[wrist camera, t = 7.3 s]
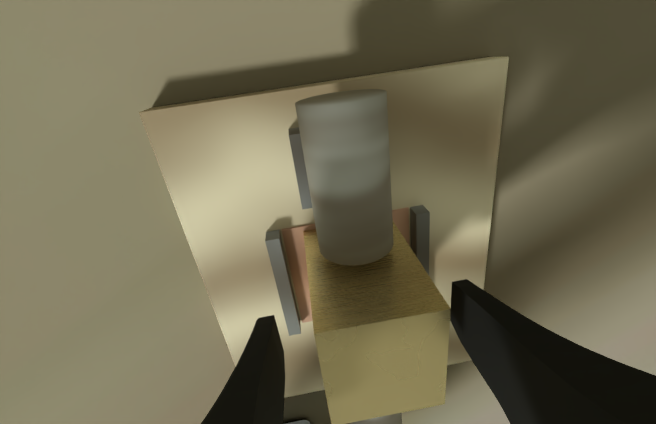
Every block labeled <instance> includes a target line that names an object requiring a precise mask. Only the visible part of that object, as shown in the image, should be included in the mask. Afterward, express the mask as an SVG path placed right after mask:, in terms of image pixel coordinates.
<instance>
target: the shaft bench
mask: <svg viewBox="0 0 656 424" xmlns="http://www.w3.org/2000/svg"><path fill="white" fill-rule="evenodd" d="M508 62H509V57H486V58H479V59H473V60H466V61H459V62H453V63H446V64H440V65H433V66H426V67H420V68H413V69H406V70H400V71H393V72H386V73H380V74H373V75H366V76H360V77H353V78H346V79H340V80H333V81H326V82H320V83H313V84H306V85H300V86H293V87H286V88H280V89H273V90H267V91H260V92H253V93H247V94H240V95H233V96H227V97H220V98H213V99H207V100H200V101H193V102H187V103H180V104H173V105H167V106H160V107H153V108H149V109H147V110H144V111H142V112H139V114H140V117H141V119H142V122H143V125H144V127H145V130H146V133H147V135H148V138H149V141H150V143H151V146H152V148H153V151H154V154H155V156H156V159H157V162H158V164H159V167H160V169H161V172H162V175H163V177H164V180H165V183H166V185H167V188H168V190H169V193H170V196H171V198H172V201H173V204H174V206H175V209H176V211H177V214H178V217H179V219H180V222H181V225H182V227H183V230H184V233H185V235H186V238H187V240H188V243H189V246H190V248H191V251H192V254H193V256H194V259H195V261H196V264H197V267H198V269H199V272H200V275H201V277H202V280H203V282H204V285H205V288H206V290H207V293H208V296H209V298H210V301H211V303H212V306H213V309H214V311H215V314H216V317H217V319H218V322H219V325H220V327H221V330H222V332H223V335H224V338H225V340H226V343H227V346H228V348H229V351H230V353H231V356H232V359H233V361H234V364H235V367H236V365H237V363H238V361H239V359H240V357H241V355H242V353H243V351H244V349H245V347H246V344H247V342H248V340H249V338H250V335H251V333H252V331H253V328H254V326H255V323H256V320H257V319H258V318H261V317H266V316H271V315H274V317H275V320H276V324H277V328H278V331H279V335H280V339H281V342H282V346H283V350H284V360H285V394H284V398H286V397H291V396H296V395H301V394H306V393H311V392H316V391H321V390H325V388H324V383H323V378H322V373H321V368H320V362H319V357H318V352H317V347H316V342H315V337H314V329H313V320H312V310H311V301H310V291H309V282H308V272H307V262H306V253H305V243H304V234H303V231H307V230H313V229H316V232H317V238H318V244H319V250H320V253H321V254H322V255H323V257H325V258H326V259H327V260H329V261H331V262H333V263H337V264H341V265H363V264H368V263H372V262H375V261H377V260H379V259H381V258H383V257H384V256H386V255H387V254H388V253H389V252H390V251H391V249H392V247H393V242H394V241H393V222H394V223H395V225H396V226H397V228H398V229H399V231H400V232H401V234H402V235H403V237H404V238H405V240H406V241H407V243H408V245H409V246H410V248H411V249H412V251H413V252H414V254H415V255H416V257H417V258H418V260H419V261H420V263H421V264H422V266H423V267H424V269H425V270H426V272H427V273H428V275H429V276H430V278H431V280H432V281H433V283H434V284H435V286H436V287H437V289H438V290H439V292H440V293H441V295H442V296H443V298H444V299H445V301H446V302H447V304H448V305H449V307H450V308H451V290H452V282H454V281H459V280H465V279H467V280H469V281H470V282H472V283H473V284H475V285H476V286H478V287H479V288H481V289H483V290H484V281H485V272H486V263H487V254H488V244H489V235H490V226H491V217H492V208H493V199H494V190H495V180H496V171H497V162H498V153H499V144H500V135H501V126H502V116H503V107H504V98H505V89H506V80H507V71H508ZM467 361H472V359H471V358H470V356H469V355H468V353H467V352H466V350H465V348H464V347H463V345H462V344H461V342H460V340H459V338H458V336H457V334H456V332H455V329H454V327H453V325H452V323H451V321H450V329H449V345H448V360H447V365H452V364H457V363H462V362H467ZM349 424H402V416H401V413H397V414H392V415H387V416H382V417H377V418H372V419H367V420H362V421H357V422H352V423H349Z"/></svg>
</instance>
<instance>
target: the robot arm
mask: <svg viewBox="0 0 656 424" xmlns="http://www.w3.org/2000/svg"><path fill="white" fill-rule="evenodd" d="M450 321H451V323H452V325H453V327H454V329H455V332H456V334H457V336H458V338H459V340H460V342H461V344H462V345H463V347H464V348H465V350H466V352H467V353H468V355H469V356H470V358H471V359H472V361H473V363H474V364H475V366H476V367H477V369H478V370H479V372H480V373H481V375H482V376H483V378H484V380H485V381H486V383H487V384H488V386H489V387H490V389H491V390H492V392H493V393H494V395H495V397H496V398H497V400H498V402H499V403H500V405H501V407H502V408H503V410H504V412H505V414H506V416H507V418H508V420H509V422H510V424H656V376H655V375H652V374H649V373H647V372H644V371H641V370H638V369H636V368H633V367H630V366H628V365H625V364H622V363H620V362H617V361H615V360H612V359H610V358H607V357H605V356H603V355H600V354H598V353H596V352H593V351H591V350H589V349H587V348H584V347H582V346H580V345H578V344H576V343H574V342H572V341H570V340H568V339H566V338H563V337H561V336H559V335H557V334H555V333H554V332H552V331H550V330H548V329H546V328H544V327H542V326H541V325H539V324H537V323H535V322H534V321H532V320H530V319H528V318H527V317H525V316H523V315H522V314H520V313H518V312H517V311H515V310H513V309H512V308H510V307H509V306H507V305H505V304H504V303H502V302H501V301H499V300H498V299H496V298H495V297H493V296H492V295H490V294H489V293H487V292H486V291H484V290H483V289H481V288H479V287H478V286H476V285H475V284H473V283H472V282H470V281H469V280H467V279H465V280H459V281H454V282H452V290H451V314H450ZM284 394H285V360H284V350H283V346H282V342H281V339H280V335H279V331H278V328H277V324H276V320H275V317H274V315H271V316H266V317H261V318H258V319H257V320H256V323H255V326H254V328H253V331H252V333H251V335H250V338H249V340H248V342H247V344H246V347H245V349H244V351H243V353H242V355H241V357H240V359H239V361H238V363H237V365H236V367H235V369H234V371H233V373H232V374H231V376H230V378H229V380H228V382H227V383H226V385H225V387H224V389H223V390H222V392H221V394H220V395H219V397H218V399H217V400H216V402H215V404H214V405H213V407H212V408H211V410H210V411H209V413H208V414H207V416H206V417H205V419H204V420H203V421H202V423H201V424H283V411H284ZM285 424H310V422H309V421H307V420H300V421H295V422H290V423H285Z"/></svg>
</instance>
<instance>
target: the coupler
mask: <svg viewBox="0 0 656 424" xmlns="http://www.w3.org/2000/svg"><path fill="white" fill-rule="evenodd" d="M303 234H304V243H305V253H306V262H307V272H308V282H309V291H310V301H311V310H312V320H313V329H314V337H315V342H316V347H317V352H318V357H319V362H320V368H321V373H322V378H323V383H324V388H325V393H326V399H327V404H328V409H329V414H330V419H331V424H347V423H352V422H357V421H362V420H367V419H372V418H377V417H382V416H387V415H392V414H397V413H402V412H407V411H412V410H417V409H422V408H427V407H432V406H437V405H442V404H445V391H446V376H447V360H448V345H449V329H450V314H451V308H450V307H449V305H448V304H447V302H446V301H445V299H444V298H443V296H442V295H441V293H440V292H439V290H438V289H437V287H436V286H435V284H434V283H433V281H432V280H431V278H430V276H429V275H428V273H427V272H426V270H425V269H424V267H423V266H422V264H421V263H420V261H419V260H418V258H417V257H416V255H415V254H414V252H413V251H412V249H411V248H410V246H409V245H408V243H407V241H406V240H405V238H404V237H403V235H402V234H401V232H400V231H399V229H398V228H397V226H396V225H395V223H394V222H393V241H394V242H393V247H392V249H391V251H390V252H389V253H388V254H387V255H386V256H384V257H383V258H381V259H379V260H377V261H375V262H372V263H368V264H363V265H341V264H337V263H333V262H331V261H329V260H327V259H326V258H325V257H323V255H322V254H321V253H320V250H319V244H318V238H317V232H316V229H313V230H307V231H303Z"/></svg>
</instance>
